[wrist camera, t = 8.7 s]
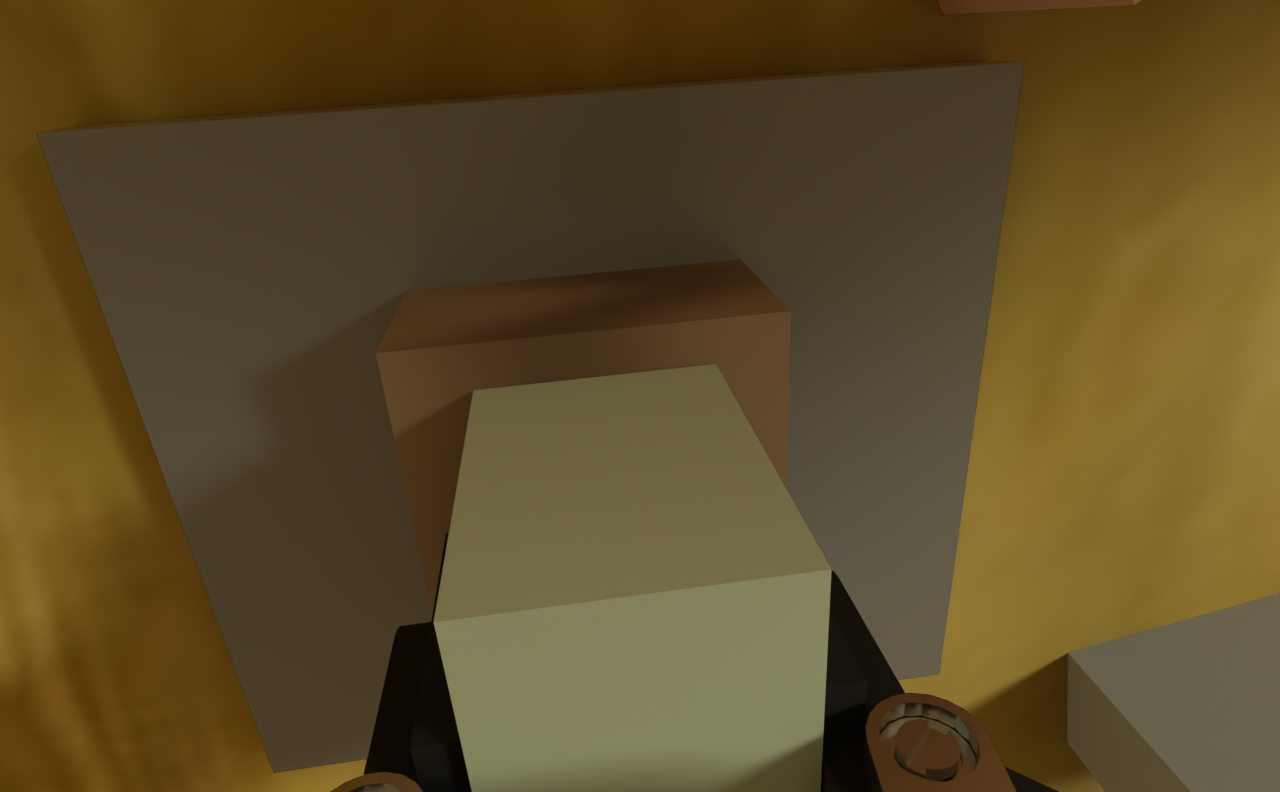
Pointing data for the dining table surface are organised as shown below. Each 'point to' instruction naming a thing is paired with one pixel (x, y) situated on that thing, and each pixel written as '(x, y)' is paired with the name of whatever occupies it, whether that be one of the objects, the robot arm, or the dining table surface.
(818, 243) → the slate board
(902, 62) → the dining table surface
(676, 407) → the brick sage
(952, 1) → the brick terracotta
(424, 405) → the brick walnut
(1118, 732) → the grey block
